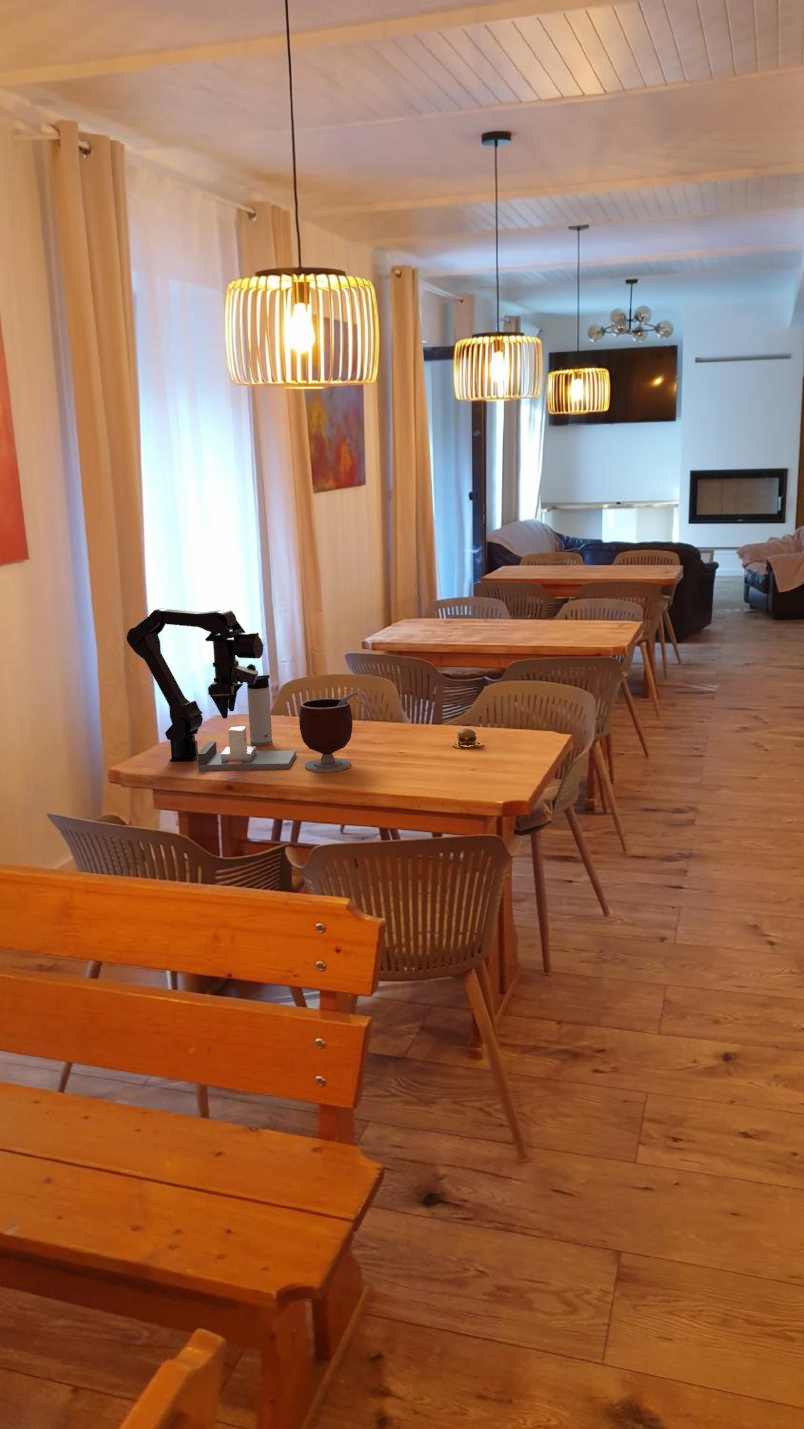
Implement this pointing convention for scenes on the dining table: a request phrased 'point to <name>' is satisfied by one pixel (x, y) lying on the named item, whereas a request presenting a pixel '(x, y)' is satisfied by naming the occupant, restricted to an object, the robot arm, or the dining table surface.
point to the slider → (238, 746)
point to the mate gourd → (326, 731)
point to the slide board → (261, 760)
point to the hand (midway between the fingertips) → (228, 714)
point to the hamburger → (466, 737)
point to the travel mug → (259, 712)
